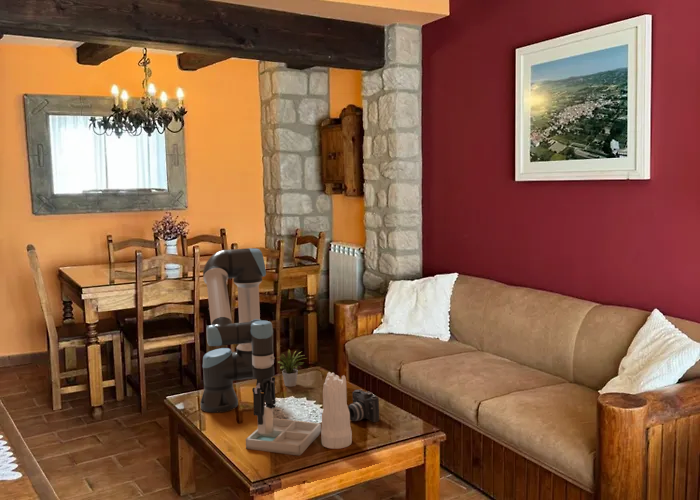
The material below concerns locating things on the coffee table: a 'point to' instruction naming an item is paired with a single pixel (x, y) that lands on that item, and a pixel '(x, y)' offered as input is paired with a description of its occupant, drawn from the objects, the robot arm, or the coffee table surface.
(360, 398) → the camera
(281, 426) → the divided tray
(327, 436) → the decorative vase
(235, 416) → the coffee table surface
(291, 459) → the coffee table surface
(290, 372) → the house plant
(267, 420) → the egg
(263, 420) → the robot arm
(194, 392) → the coffee table surface
